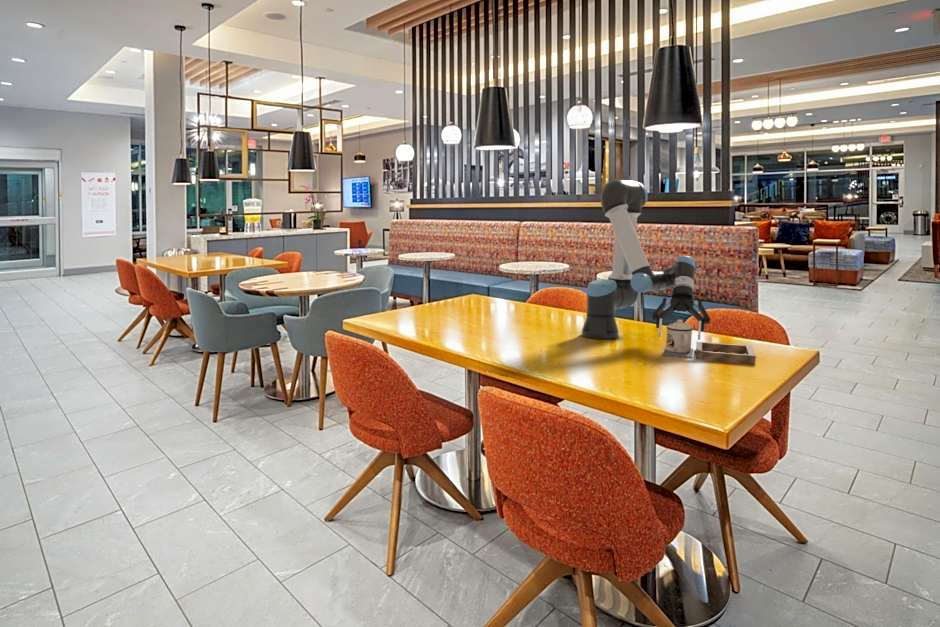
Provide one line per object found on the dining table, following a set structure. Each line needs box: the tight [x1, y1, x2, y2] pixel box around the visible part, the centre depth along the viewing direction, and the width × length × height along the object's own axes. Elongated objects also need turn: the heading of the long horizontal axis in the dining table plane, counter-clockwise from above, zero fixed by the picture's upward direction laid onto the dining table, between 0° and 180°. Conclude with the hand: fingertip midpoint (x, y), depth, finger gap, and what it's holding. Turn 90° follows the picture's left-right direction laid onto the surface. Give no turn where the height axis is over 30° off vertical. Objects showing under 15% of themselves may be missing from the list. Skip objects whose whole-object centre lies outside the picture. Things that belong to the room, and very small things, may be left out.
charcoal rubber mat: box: [662, 345, 694, 359], centre depth 216 cm, size 10×15×1 cm, turn 159°
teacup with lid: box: [665, 319, 693, 353], centre depth 215 cm, size 12×9×12 cm
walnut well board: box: [694, 341, 757, 366], centre depth 210 cm, size 19×18×3 cm
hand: (679, 336), depth 213 cm, fingers open, 13 cm apart
